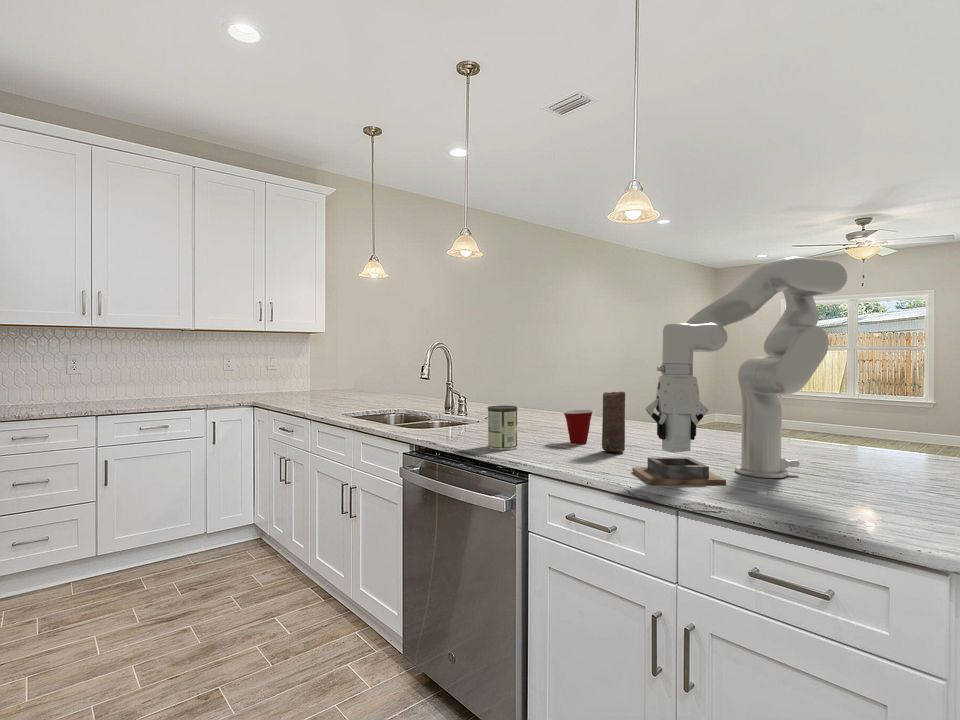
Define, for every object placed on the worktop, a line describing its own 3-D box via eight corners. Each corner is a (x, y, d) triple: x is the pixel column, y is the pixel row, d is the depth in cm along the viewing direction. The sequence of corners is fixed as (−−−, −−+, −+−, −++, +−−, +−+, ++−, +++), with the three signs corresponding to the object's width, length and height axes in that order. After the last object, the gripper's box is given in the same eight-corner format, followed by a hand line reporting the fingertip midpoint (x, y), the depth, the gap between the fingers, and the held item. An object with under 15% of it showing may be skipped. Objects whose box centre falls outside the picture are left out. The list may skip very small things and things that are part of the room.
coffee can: (497, 444, 185) (497, 404, 185) (522, 446, 179) (522, 406, 179) (481, 448, 176) (481, 407, 176) (508, 451, 171) (508, 409, 171)
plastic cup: (570, 439, 195) (570, 407, 195) (597, 442, 189) (597, 409, 188) (557, 443, 186) (557, 410, 186) (585, 446, 180) (585, 412, 180)
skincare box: (678, 448, 138) (679, 403, 138) (691, 451, 134) (692, 405, 134) (660, 450, 135) (661, 404, 135) (673, 453, 131) (673, 405, 131)
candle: (625, 455, 165) (626, 392, 165) (602, 454, 166) (602, 392, 166) (624, 450, 173) (624, 391, 172) (601, 449, 174) (601, 390, 174)
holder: (700, 471, 142) (701, 456, 142) (726, 484, 128) (726, 467, 128) (632, 471, 141) (632, 456, 141) (650, 484, 127) (650, 467, 127)
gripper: (649, 370, 130) (648, 441, 131) (717, 371, 131) (716, 441, 131) (639, 370, 138) (638, 436, 138) (704, 370, 138) (702, 437, 138)
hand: (676, 438), depth 134 cm, fingers closed on skincare box, 7 cm apart
